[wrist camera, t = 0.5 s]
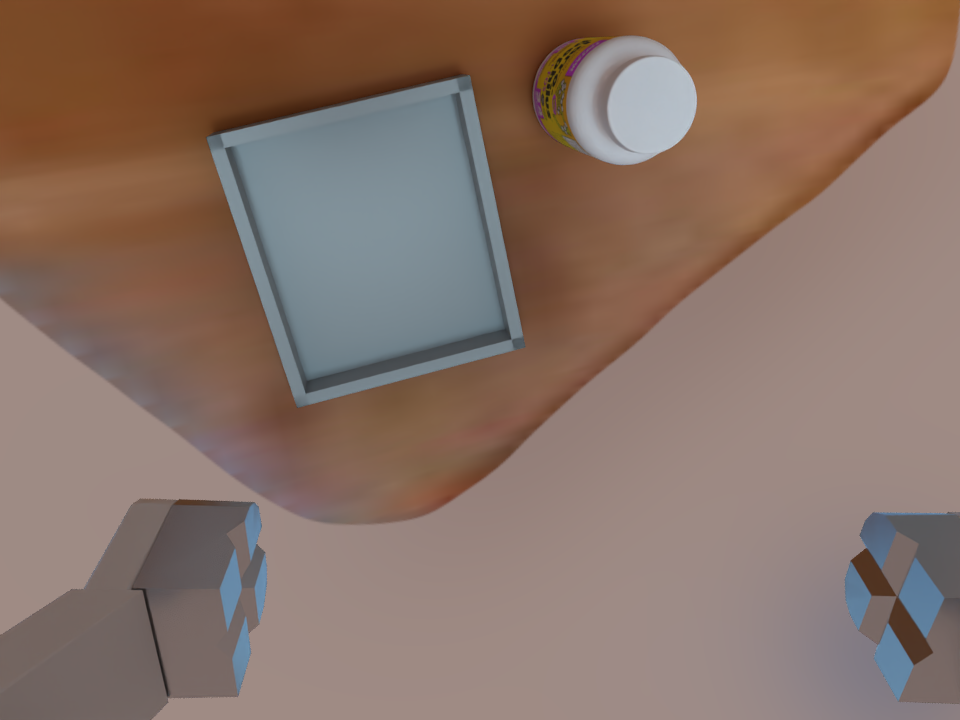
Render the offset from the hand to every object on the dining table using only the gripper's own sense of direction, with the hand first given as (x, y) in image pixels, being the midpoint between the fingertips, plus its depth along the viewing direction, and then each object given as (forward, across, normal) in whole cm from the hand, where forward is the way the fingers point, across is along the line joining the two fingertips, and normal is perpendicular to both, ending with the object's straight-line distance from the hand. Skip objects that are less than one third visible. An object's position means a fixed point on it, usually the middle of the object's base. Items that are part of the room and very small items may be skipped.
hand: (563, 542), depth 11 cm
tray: (+41, +7, +12) cm, 43 cm away
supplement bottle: (+45, -6, +2) cm, 45 cm away
